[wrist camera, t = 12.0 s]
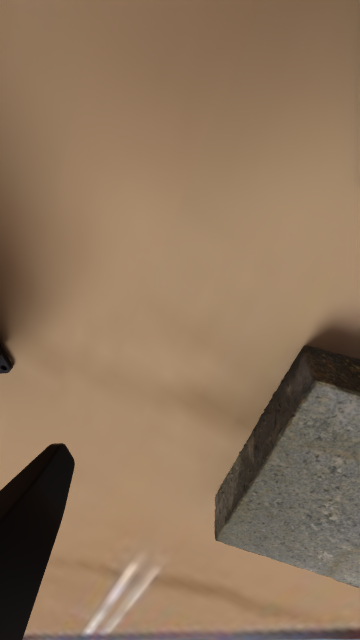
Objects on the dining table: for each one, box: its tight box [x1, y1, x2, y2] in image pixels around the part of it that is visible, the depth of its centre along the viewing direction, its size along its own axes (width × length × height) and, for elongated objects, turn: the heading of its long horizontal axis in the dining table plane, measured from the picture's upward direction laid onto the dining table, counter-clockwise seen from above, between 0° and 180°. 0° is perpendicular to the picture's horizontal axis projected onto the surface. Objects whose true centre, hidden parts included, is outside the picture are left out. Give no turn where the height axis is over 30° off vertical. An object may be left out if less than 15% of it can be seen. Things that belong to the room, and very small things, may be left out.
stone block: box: [215, 345, 360, 588], centre depth 25 cm, size 14×20×5 cm
